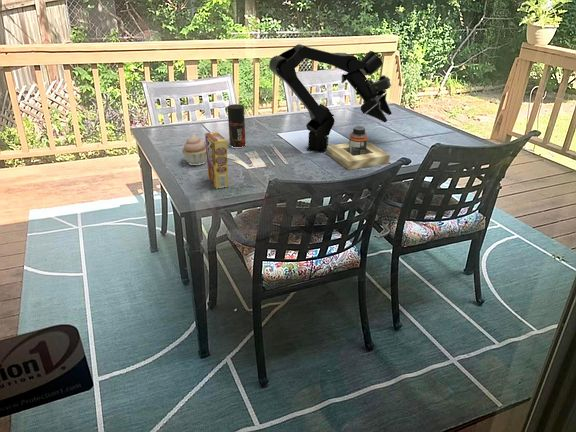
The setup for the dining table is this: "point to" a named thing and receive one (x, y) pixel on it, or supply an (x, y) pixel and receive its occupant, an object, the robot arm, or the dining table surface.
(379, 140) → the dining table surface
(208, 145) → the candy box
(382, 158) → the socket block
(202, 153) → the cupcake
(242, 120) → the deodorant
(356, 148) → the supplement bottle
